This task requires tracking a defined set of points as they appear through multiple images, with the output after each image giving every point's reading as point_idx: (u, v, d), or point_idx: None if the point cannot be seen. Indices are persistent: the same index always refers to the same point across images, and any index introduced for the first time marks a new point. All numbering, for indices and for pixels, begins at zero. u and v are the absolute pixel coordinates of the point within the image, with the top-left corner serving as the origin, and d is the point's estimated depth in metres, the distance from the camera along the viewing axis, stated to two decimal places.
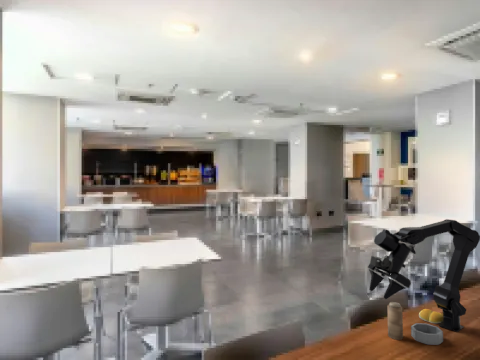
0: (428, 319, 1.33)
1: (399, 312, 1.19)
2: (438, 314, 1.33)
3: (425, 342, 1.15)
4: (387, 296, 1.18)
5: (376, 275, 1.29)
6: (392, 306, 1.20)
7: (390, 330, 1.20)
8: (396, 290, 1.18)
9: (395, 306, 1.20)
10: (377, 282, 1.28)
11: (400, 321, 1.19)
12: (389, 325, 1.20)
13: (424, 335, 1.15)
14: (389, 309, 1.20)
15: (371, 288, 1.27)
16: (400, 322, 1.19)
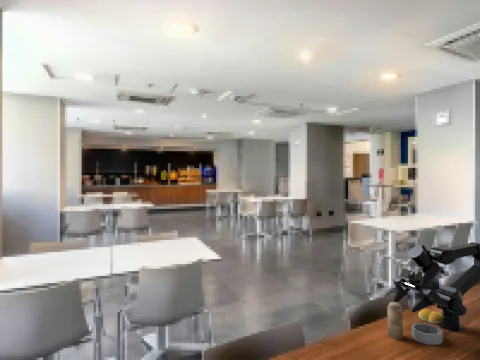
0: (428, 319, 1.33)
1: (399, 312, 1.19)
2: (438, 314, 1.33)
3: (425, 342, 1.15)
4: (415, 310, 1.17)
5: (401, 289, 1.28)
6: (392, 306, 1.20)
7: (390, 330, 1.20)
8: (425, 305, 1.17)
9: (395, 306, 1.20)
10: (401, 296, 1.28)
11: (400, 321, 1.19)
12: (389, 325, 1.20)
13: (424, 335, 1.15)
14: (389, 309, 1.20)
15: (395, 301, 1.26)
16: (400, 322, 1.19)
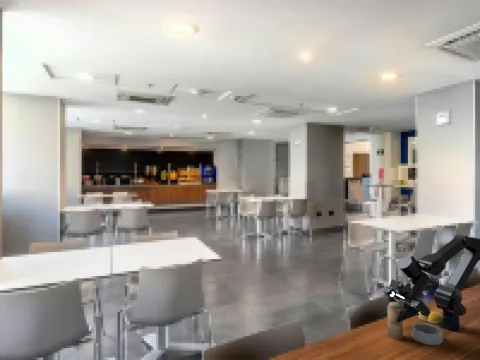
0: (427, 319, 1.33)
1: (399, 312, 1.19)
2: (437, 314, 1.33)
3: (425, 342, 1.15)
4: (400, 320, 1.18)
5: (394, 301, 1.25)
6: (392, 306, 1.20)
7: (390, 330, 1.20)
8: (409, 315, 1.18)
9: (395, 306, 1.20)
10: None
11: None
12: (389, 325, 1.20)
13: (424, 335, 1.15)
14: (389, 309, 1.20)
15: None
16: (400, 322, 1.19)
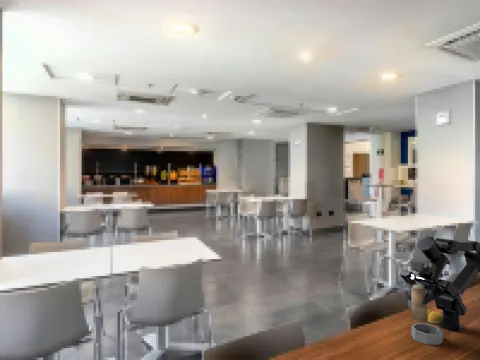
0: None
1: (424, 294, 1.17)
2: (437, 314, 1.33)
3: (425, 342, 1.15)
4: (426, 302, 1.16)
5: (415, 284, 1.23)
6: (417, 289, 1.18)
7: (416, 313, 1.18)
8: (435, 296, 1.17)
9: (420, 288, 1.18)
10: None
11: None
12: (414, 308, 1.18)
13: (424, 335, 1.15)
14: (414, 292, 1.18)
15: None
16: (426, 304, 1.17)
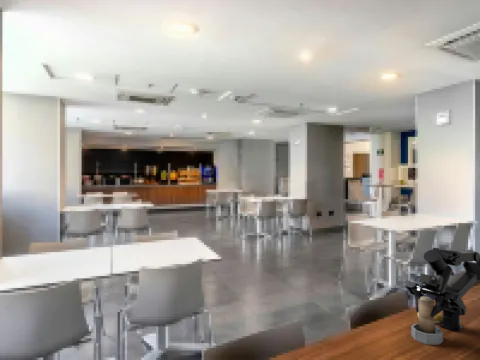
0: None
1: (432, 307, 1.17)
2: (437, 314, 1.33)
3: (425, 342, 1.15)
4: (434, 314, 1.16)
5: (421, 296, 1.23)
6: (425, 301, 1.18)
7: (424, 325, 1.18)
8: (442, 308, 1.17)
9: (428, 300, 1.17)
10: None
11: None
12: (422, 320, 1.18)
13: (424, 335, 1.15)
14: (422, 304, 1.18)
15: (418, 309, 1.21)
16: None
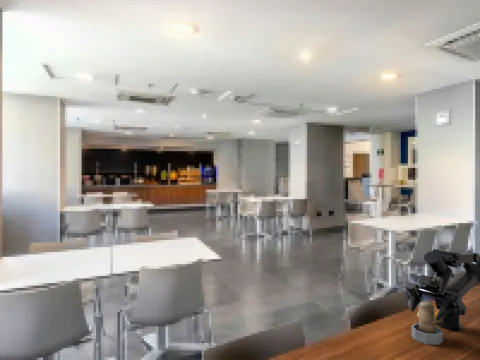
0: None
1: (432, 312, 1.17)
2: (436, 314, 1.33)
3: (425, 342, 1.15)
4: (440, 317, 1.15)
5: (416, 295, 1.25)
6: (425, 306, 1.18)
7: (424, 331, 1.18)
8: (448, 311, 1.15)
9: (428, 306, 1.17)
10: (416, 303, 1.24)
11: (433, 321, 1.17)
12: (422, 326, 1.18)
13: (424, 335, 1.15)
14: (422, 309, 1.18)
15: (412, 309, 1.22)
16: (433, 322, 1.17)
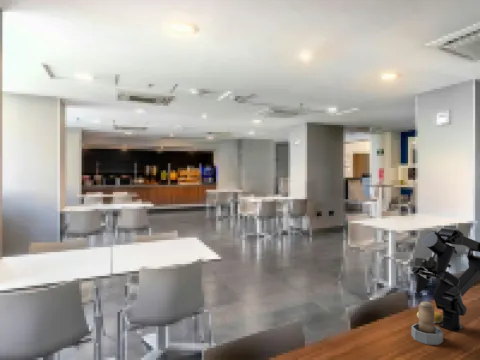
0: None
1: (432, 312, 1.17)
2: (436, 314, 1.33)
3: (425, 342, 1.15)
4: (436, 296, 1.19)
5: (421, 278, 1.30)
6: (425, 306, 1.18)
7: (424, 331, 1.18)
8: (445, 289, 1.18)
9: (428, 306, 1.18)
10: (423, 285, 1.29)
11: (433, 321, 1.17)
12: (422, 326, 1.18)
13: (424, 335, 1.15)
14: (422, 309, 1.18)
15: (418, 291, 1.28)
16: (433, 322, 1.17)
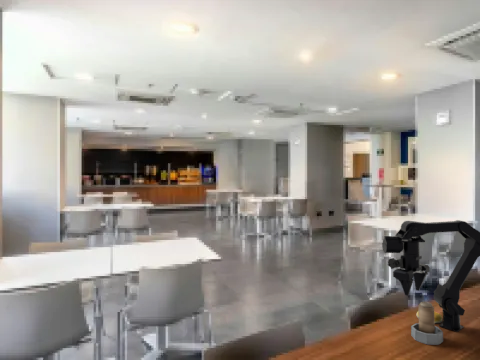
0: None
1: (432, 312, 1.17)
2: (436, 314, 1.33)
3: (425, 342, 1.15)
4: (406, 292, 1.27)
5: (416, 274, 1.34)
6: (425, 306, 1.18)
7: (424, 331, 1.18)
8: (408, 285, 1.25)
9: (428, 306, 1.18)
10: (420, 280, 1.32)
11: (433, 321, 1.17)
12: (422, 326, 1.18)
13: (424, 335, 1.15)
14: (422, 309, 1.18)
15: (416, 288, 1.33)
16: (433, 322, 1.17)
